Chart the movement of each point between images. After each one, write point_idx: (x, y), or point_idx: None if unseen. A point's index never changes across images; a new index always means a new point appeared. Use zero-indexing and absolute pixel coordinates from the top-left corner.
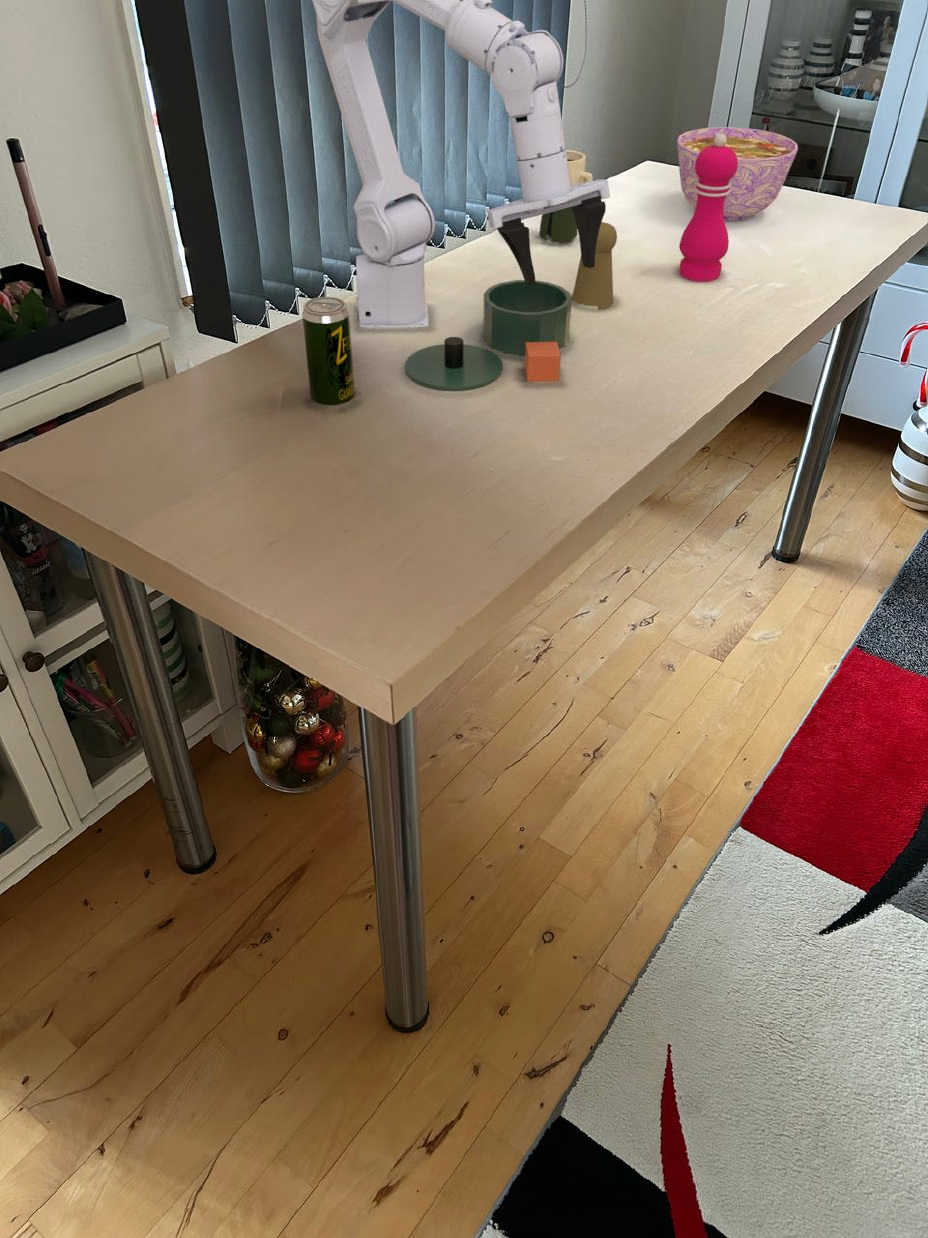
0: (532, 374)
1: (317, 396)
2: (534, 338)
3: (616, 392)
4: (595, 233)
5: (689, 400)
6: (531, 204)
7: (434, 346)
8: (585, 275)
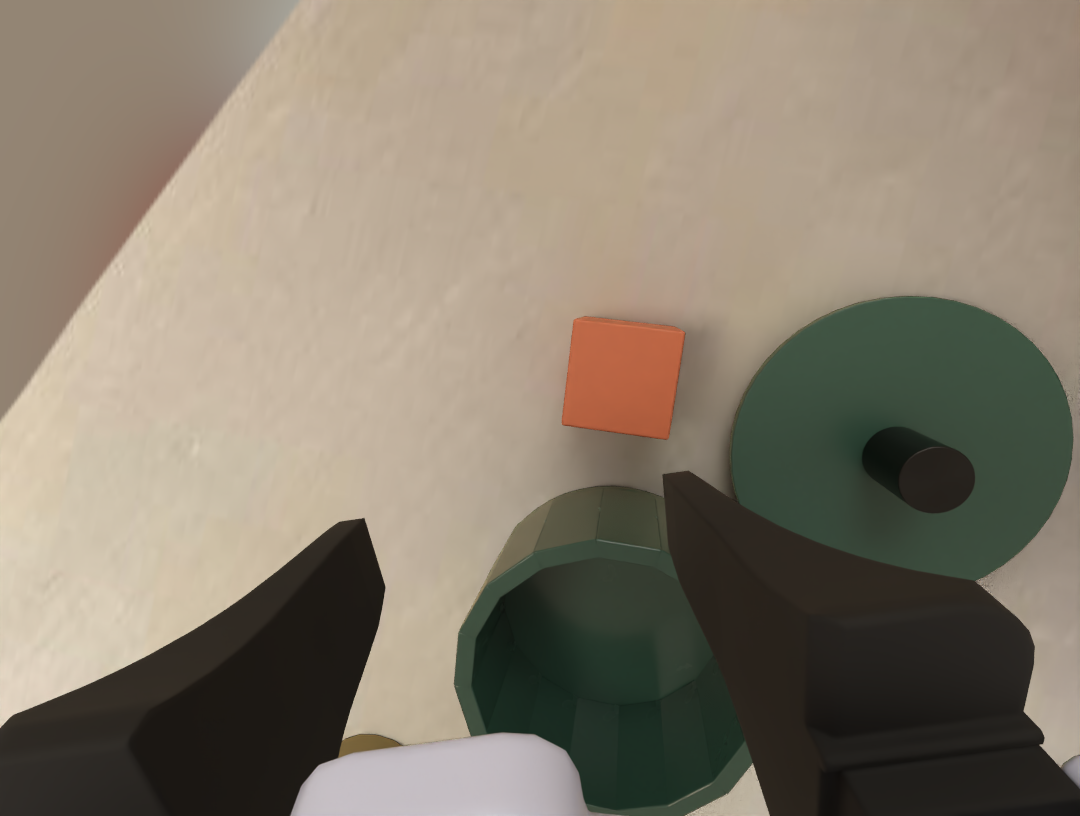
0: (664, 326)
1: None
2: (615, 508)
3: (432, 248)
4: (229, 614)
5: (253, 174)
6: None
7: None
8: None
